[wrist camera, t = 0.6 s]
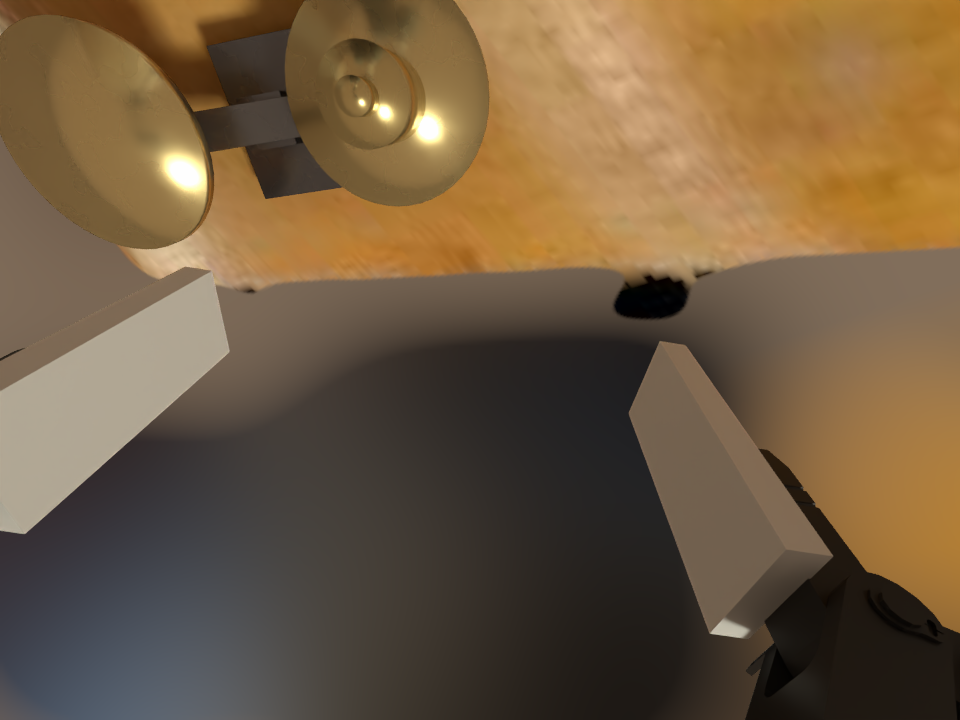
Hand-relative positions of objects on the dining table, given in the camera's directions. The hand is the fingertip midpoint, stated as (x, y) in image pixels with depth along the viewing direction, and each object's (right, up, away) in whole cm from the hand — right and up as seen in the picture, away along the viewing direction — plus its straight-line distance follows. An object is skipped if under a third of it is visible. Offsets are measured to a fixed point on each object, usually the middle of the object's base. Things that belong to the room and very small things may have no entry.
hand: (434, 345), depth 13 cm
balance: (-13, +18, +20) cm, 30 cm away
